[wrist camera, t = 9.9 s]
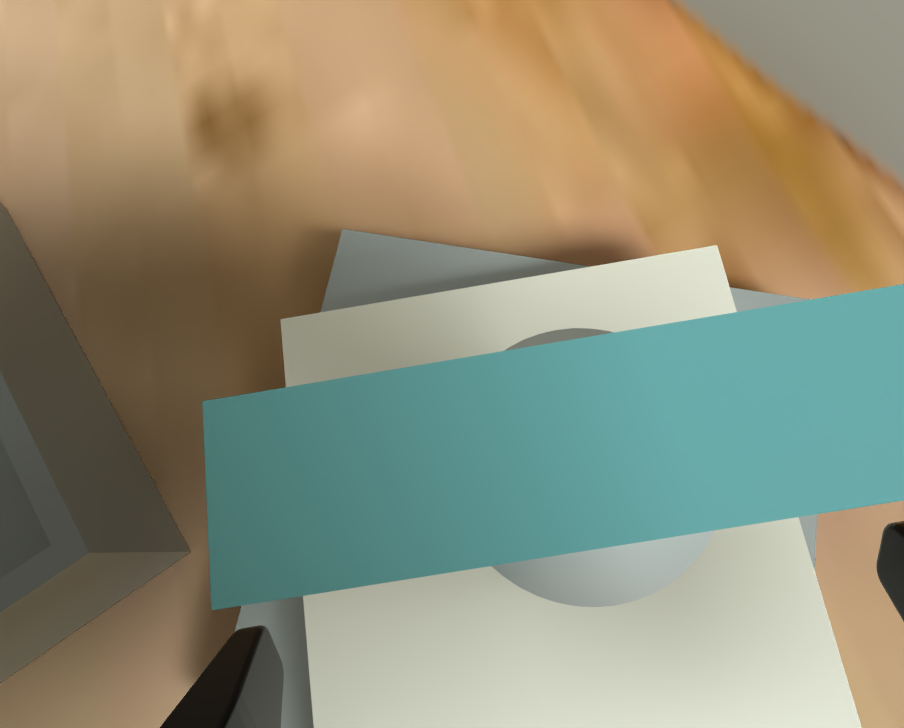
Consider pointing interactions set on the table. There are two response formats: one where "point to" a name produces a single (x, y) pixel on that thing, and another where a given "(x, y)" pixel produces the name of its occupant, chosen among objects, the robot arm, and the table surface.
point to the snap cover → (562, 498)
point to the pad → (390, 278)
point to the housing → (63, 477)
